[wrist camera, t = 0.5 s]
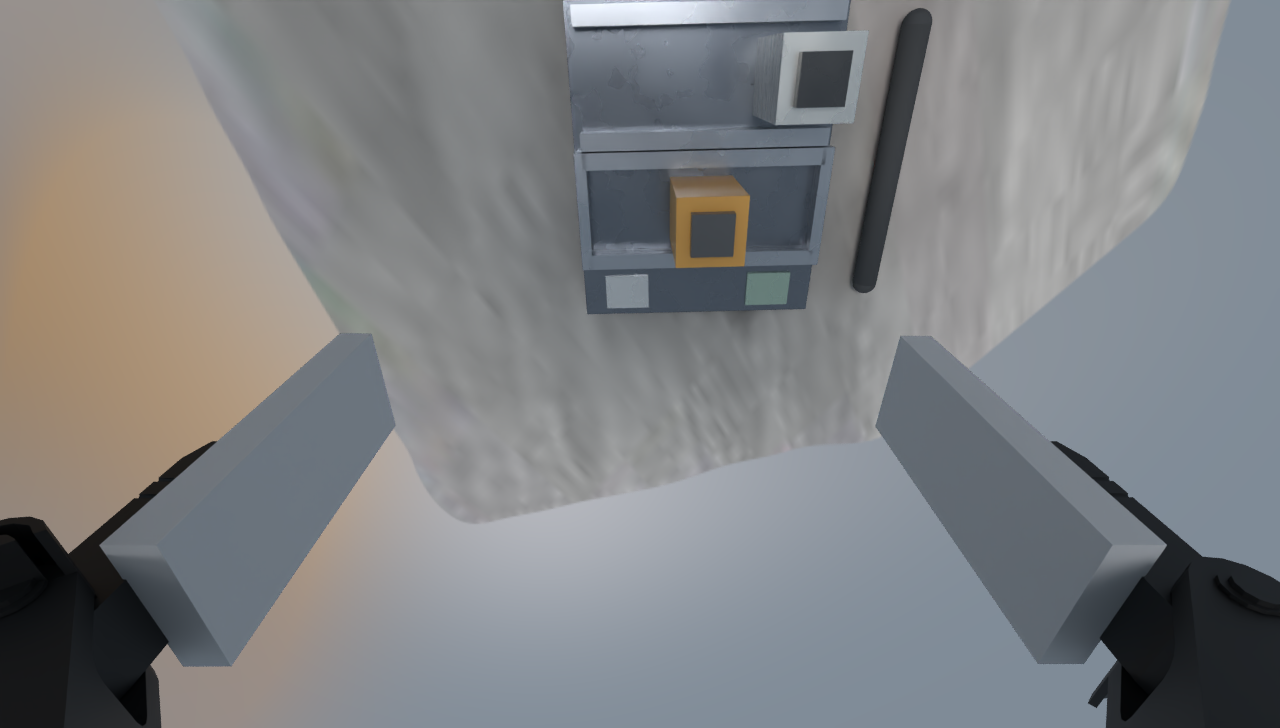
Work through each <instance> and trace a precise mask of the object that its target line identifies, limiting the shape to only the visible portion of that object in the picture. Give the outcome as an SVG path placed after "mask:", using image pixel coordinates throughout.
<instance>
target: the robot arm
mask: <svg viewBox="0 0 1280 728" xmlns="http://www.w3.org/2000/svg"><path fill="white" fill-rule="evenodd" d="M394 427H395V421H394V417H393V413H392V409H391V406H390V402H389V398H388V394H387V391H386V387H385V383H384V379H383V375H382V372H381V368H380V364H379V360H378V357H377V353H376V349H375V345H374V341H373V338H372V334H361V333H340V334H339V335H338V336H337V337H336V338H334V339H333V340H332V341H331V342H330V343H329V344H328V345H326V346H325V347H324V348H323V349H322V350H321V351H320V352H319V353H317V354H316V355H315V356H314V357H313V358H312V359H310V360H309V361H308V362H307V363H306V364H305V365H304V366H303V367H301V368H300V370H298V371H297V372H296V373H295V374H294V375H292V376H291V377H290V378H289V379H288V380H287V381H285V382H284V383H283V384H282V385H281V386H280V387H279V388H278V389H276V390H275V391H274V392H273V393H272V394H271V395H270V396H269V397H267V398H266V399H265V400H264V401H263V402H262V403H260V404H259V405H258V406H257V407H256V408H255V409H254V410H253V411H251V412H250V413H249V414H248V415H247V416H246V417H245V418H243V419H242V420H241V421H240V422H239V423H238V424H237V425H235V427H233V428H232V429H231V430H230V431H229V432H228V433H226V434H225V435H224V436H223V437H222V438H221V439H220V440H218V441H213V442H210V443H208V444H207V445H205V446H203V447H201V448H199V449H198V450H196V451H194V452H192V453H190V454H188V455H187V456H185V457H183V458H182V459H180V460H179V461H178V462H177V463H175V464H174V465H173V466H172V467H171V468H170V469H169V470H167V471H166V472H165V473H164V474H162V475H161V476H160V477H159V481H158V482H153V483H152V484H151V485H149V486H148V487H147V488H146V489H145V490H144V491H143V492H141V493H140V494H139V495H140V496H139V498H134V499H133V500H132V501H131V502H130V503H128V504H127V505H126V506H125V507H124V508H122V509H121V510H120V511H119V512H118V513H116V514H115V515H114V516H113V517H112V518H111V519H109V520H108V521H107V522H106V523H105V524H103V526H101V527H100V528H99V529H98V530H97V531H95V532H94V533H93V534H92V535H91V536H89V537H88V538H87V539H86V540H85V541H83V542H82V543H81V544H80V545H79V546H78V547H76V548H75V549H74V550H73V551H72V552H70V553H69V554H68V553H67V552H66V551H65V550H64V548H63V547H62V545H60V543H59V541H58V540H57V539H56V537H55V536H54V535H53V533H52V532H51V531H50V529H49V528H48V527H47V525H46V524H45V522H44V521H43V520H40V519H36V518H33V517H18V518H8V519H4V520H0V728H161V714H160V698H159V681H158V678H157V675H156V673H155V671H154V669H153V668H152V667H151V665H150V664H151V663H152V662H153V660H154V659H155V658H156V657H157V656H158V654H159V653H160V652H161V651H162V649H163V648H164V647H165V646H166V645H167V644H168V645H169V647H170V648H171V649H172V651H173V652H174V654H175V655H176V657H177V658H178V660H179V661H180V663H181V664H182V665H183V666H232V664H233V663H234V661H235V660H236V659H237V657H238V656H239V654H240V653H241V651H242V650H243V648H244V647H245V645H246V644H247V642H248V641H249V639H250V638H251V636H252V635H253V633H254V632H255V631H256V629H257V628H258V626H259V625H260V623H261V622H262V620H263V619H264V617H265V616H266V614H267V613H268V612H269V610H270V609H271V607H272V606H273V604H274V603H275V601H276V600H277V598H278V597H279V595H280V594H281V593H282V591H283V589H284V588H285V587H286V585H287V583H288V582H289V581H290V579H291V578H292V576H293V575H294V573H295V572H296V570H297V569H298V568H299V566H300V565H301V563H302V562H303V560H304V558H305V557H306V556H307V554H308V553H309V551H310V550H311V548H312V547H313V545H314V544H315V543H316V541H317V540H318V538H319V537H320V535H321V534H322V532H323V531H324V529H325V528H326V526H327V525H328V524H329V522H330V521H331V519H332V518H333V516H334V515H335V513H336V512H337V510H338V509H339V507H340V506H341V504H342V503H343V502H344V500H345V499H346V497H347V496H348V494H349V493H350V491H351V490H352V488H353V487H354V485H355V484H356V482H357V481H358V479H359V478H360V476H361V475H362V474H363V472H364V471H365V469H366V468H367V466H368V465H369V463H370V462H371V460H372V459H373V458H374V456H375V455H376V453H377V452H378V450H379V449H380V447H381V446H382V444H383V443H384V441H385V440H386V438H387V437H388V435H389V434H390V433H391V431H392V430H393V428H394ZM876 428H877V429H878V431H879V432H880V434H881V435H882V437H883V438H884V439H885V441H886V442H887V444H888V445H889V447H890V448H891V450H892V451H893V453H894V454H895V455H896V457H897V458H898V460H899V461H900V463H901V464H902V465H903V467H904V469H905V470H906V471H907V473H908V474H909V476H910V477H911V479H912V480H913V482H914V483H915V484H916V486H917V488H918V489H919V490H920V492H921V493H922V495H923V497H924V498H925V499H926V501H927V502H928V504H929V505H930V507H931V508H932V510H933V511H934V513H935V514H936V516H937V517H938V518H939V520H940V521H941V523H942V524H943V526H944V527H945V529H946V530H947V532H948V533H949V534H950V536H951V537H952V539H953V540H954V542H955V543H956V545H957V546H958V548H959V549H960V551H961V552H962V554H963V555H964V557H965V558H966V559H967V561H968V562H969V564H970V565H971V567H972V568H973V570H974V571H975V572H976V574H977V576H978V577H979V578H980V580H981V581H982V583H983V584H984V586H985V587H986V589H987V590H988V591H989V593H990V595H991V596H992V598H993V599H994V600H995V602H996V603H997V605H998V606H999V608H1000V609H1001V611H1002V612H1003V613H1004V615H1005V617H1006V618H1007V619H1008V621H1009V622H1010V624H1011V625H1012V627H1013V628H1014V630H1015V631H1016V633H1017V634H1018V636H1019V637H1020V639H1021V640H1022V641H1023V643H1024V644H1025V646H1026V647H1027V649H1028V650H1029V652H1030V653H1031V655H1032V656H1033V657H1034V659H1035V660H1036V662H1037V663H1038V664H1084V663H1085V662H1086V660H1087V659H1088V657H1089V656H1090V655H1091V653H1092V652H1093V650H1094V649H1095V647H1096V646H1097V644H1098V643H1099V642H1100V640H1102V641H1103V643H1104V644H1105V645H1106V646H1107V648H1108V649H1109V650H1110V651H1111V652H1112V654H1113V655H1114V656H1115V657H1116V659H1117V661H1116V663H1115V664H1114V666H1113V667H1112V668H1111V669H1110V671H1109V672H1108V673H1107V675H1106V676H1105V678H1104V679H1103V680H1102V682H1101V683H1100V684H1099V686H1098V687H1097V688H1096V690H1095V691H1094V692H1093V694H1092V696H1091V698H1090V700H1089V702H1088V703H1089V704H1090V705H1092V706H1094V707H1096V708H1097V706H1098V705H1099V704H1100V703H1101V701H1102V700H1103V699H1104V698H1107V717H1106V718H1107V719H1106V728H1280V582H1278V581H1277V580H1275V579H1274V578H1272V577H1270V576H1268V575H1266V574H1264V573H1261V572H1259V571H1257V570H1255V569H1253V568H1251V567H1248V566H1246V565H1243V564H1239V563H1236V562H1233V561H1229V560H1226V559H1222V558H1210V557H1202V556H1201V555H1200V554H1199V553H1198V552H1196V551H1195V550H1194V549H1193V548H1192V547H1190V546H1189V545H1188V544H1187V543H1186V542H1185V541H1183V540H1182V539H1181V538H1180V537H1179V536H1178V535H1176V534H1175V533H1174V532H1173V531H1172V530H1170V529H1169V528H1168V527H1167V526H1166V525H1164V524H1163V523H1162V522H1161V521H1160V520H1159V519H1158V518H1156V517H1155V516H1154V515H1153V514H1152V513H1150V512H1149V511H1148V510H1147V509H1146V508H1145V507H1143V506H1142V505H1141V504H1140V503H1138V502H1137V501H1136V500H1135V499H1134V498H1133V497H1130V498H1129V497H1128V493H1127V492H1126V491H1125V490H1123V489H1122V488H1121V487H1120V486H1119V485H1117V484H1116V483H1115V482H1114V481H1109V477H1108V476H1107V475H1106V474H1105V473H1103V472H1102V471H1101V470H1100V469H1098V467H1096V466H1095V465H1094V464H1093V463H1092V462H1090V461H1089V460H1088V459H1087V458H1085V457H1084V456H1082V455H1080V454H1078V453H1077V452H1075V451H1073V450H1071V449H1069V448H1068V447H1066V446H1064V445H1062V444H1060V443H1059V442H1057V441H1049V440H1048V439H1046V438H1045V436H1043V435H1042V434H1041V433H1040V432H1039V431H1038V430H1037V429H1035V428H1034V427H1033V426H1032V425H1031V424H1030V423H1029V422H1028V421H1026V420H1025V419H1024V418H1023V417H1022V416H1021V415H1020V414H1019V413H1017V412H1016V411H1015V410H1014V409H1013V408H1012V407H1011V406H1009V405H1008V404H1007V403H1006V402H1005V401H1004V400H1003V399H1002V398H1000V397H999V396H998V395H997V394H996V393H995V392H994V391H992V390H991V389H990V388H989V387H988V386H987V385H986V384H985V383H983V382H982V381H981V380H980V379H979V378H978V377H977V376H975V375H974V374H973V373H972V372H971V371H970V370H969V369H968V368H967V367H965V366H964V365H963V364H962V363H961V362H960V361H959V360H957V359H956V358H955V357H954V356H953V355H952V354H951V353H950V352H948V351H947V350H946V349H945V348H944V347H943V346H942V345H941V344H939V343H938V342H937V341H936V340H935V339H934V338H933V337H931V336H900V340H899V343H898V347H897V350H896V354H895V358H894V361H893V365H892V368H891V372H890V376H889V379H888V383H887V387H886V390H885V394H884V397H883V401H882V405H881V408H880V412H879V415H878V419H877V423H876Z"/></svg>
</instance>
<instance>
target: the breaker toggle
mask: <svg viewBox="0 0 1280 728" xmlns="http://www.w3.org/2000/svg"><path fill="white" fill-rule="evenodd" d="M749 203H750V195H749V194H748V193H747V192H746V191H745V189H744V188H743V187H742V186H741V185H740V184H739V183H738V181H737V180H736V179H735V178H734V177H733V176H732V175H727V176H686V177H670V243H671V247H672V252H673V257H674V262H675V267H676V268H698V267H739V266H744V265H745V253H746V241H747V228H748V216H749Z"/></svg>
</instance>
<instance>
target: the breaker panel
mask: <svg viewBox="0 0 1280 728" xmlns="http://www.w3.org/2000/svg"><path fill="white" fill-rule="evenodd" d="M850 2H851V0H563V9H564V21H565V34H566V47H567V60H568V73H569V85H570V98H571V111H572V124H573V136H574V149H575V152H574V166H575V179H576V191H577V204H578V216H579V229H580V241H581V254H582V267H583V270H584V277H585V290H586V303H587V314H611V313H653V312H694V311H735V310H776V309H805V308H806V301H807V294H808V287H809V281H810V274H811V267H812V265H816V264H817V263H818V256H819V250H820V243H821V237H822V230H823V223H824V217H825V210H826V204H827V197H828V191H829V184H830V178H831V171H832V165H833V158H834V151H835V147H833V146H831V145H830V138H831V131H832V125H833V124H839V123H854V118H855V112H856V106H857V100H858V94H859V88H860V82H861V76H862V70H863V64H864V58H865V52H866V45H867V39H868V33H869V30H868V31H846V30H847V23H848V16H849V9H850ZM727 175H732V176H733V177H734V178H735V179H736V180H737V181H738V183H739V184H740V185H741V186H742V187H743V188H744V189H745V191H746V192H747V193H748V194H749V195H750V203H749V216H748V228H747V241H746V253H745V265H744V266H739V267H698V268H676V267H675V262H674V257H673V252H672V247H671V243H670V177H686V176H727Z"/></svg>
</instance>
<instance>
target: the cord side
mask: <svg viewBox="0 0 1280 728" xmlns="http://www.w3.org/2000/svg"><path fill="white" fill-rule="evenodd" d="M931 25H932V16H931V14H930V12H929V11H928V10H926V9H923V8H918V9H915V10H913V11H911V12H910V13H908V14H907V16H906V17H905V18H904V20H903V22H902V26H901V31H900V37H899V42H898V47H897V52H896V58H895V63H894V68H893V73H892V78H891V84H890V89H889V94H888V99H887V105H886V110H885V115H884V120H883V126H882V131H881V136H880V141H879V147H878V152H877V157H876V162H875V167H874V173H873V178H872V183H871V188H870V194H869V199H868V204H867V209H866V215H865V220H864V225H863V230H862V236H861V241H860V246H859V251H858V256H857V262H856V267H855V272H854V277H853V287H854V288H855V290H857V291H858V292H860V293H867V292H870V291H871V290H873V288H874V287H875V285H876V281H877V276H878V272H879V267H880V262H881V258H882V253H883V249H884V244H885V239H886V235H887V230H888V225H889V221H890V216H891V211H892V207H893V202H894V197H895V193H896V188H897V183H898V179H899V174H900V169H901V165H902V160H903V155H904V151H905V146H906V141H907V137H908V132H909V127H910V123H911V118H912V113H913V109H914V104H915V100H916V95H917V90H918V86H919V81H920V76H921V72H922V67H923V62H924V58H925V53H926V48H927V44H928V39H929V34H930V30H931Z"/></svg>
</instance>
